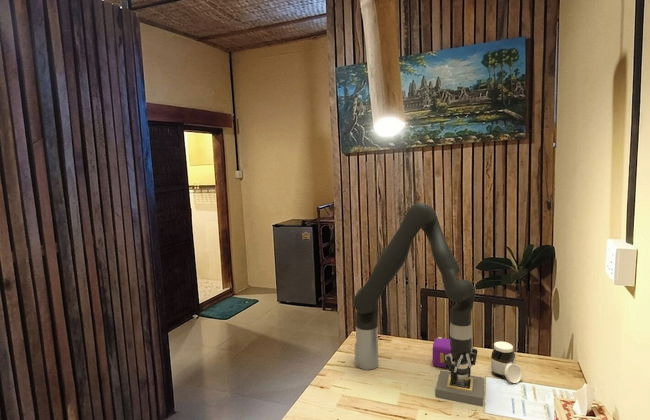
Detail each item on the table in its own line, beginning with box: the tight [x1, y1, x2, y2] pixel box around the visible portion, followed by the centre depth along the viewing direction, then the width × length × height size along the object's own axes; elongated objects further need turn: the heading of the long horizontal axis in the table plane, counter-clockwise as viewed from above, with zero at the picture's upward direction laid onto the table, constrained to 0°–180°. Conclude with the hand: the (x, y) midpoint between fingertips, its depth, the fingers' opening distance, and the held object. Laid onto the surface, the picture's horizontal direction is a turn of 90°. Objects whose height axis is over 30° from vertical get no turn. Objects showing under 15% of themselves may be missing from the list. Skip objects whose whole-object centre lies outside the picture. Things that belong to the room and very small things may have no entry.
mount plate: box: [434, 370, 485, 407], centre depth 146 cm, size 16×14×4 cm
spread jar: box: [490, 341, 523, 384], centre depth 155 cm, size 12×11×12 cm
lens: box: [453, 361, 468, 387], centre depth 146 cm, size 5×5×8 cm
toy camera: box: [432, 336, 451, 369], centre depth 166 cm, size 11×14×10 cm
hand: (460, 378), depth 146 cm, fingers closed on lens, 5 cm apart
